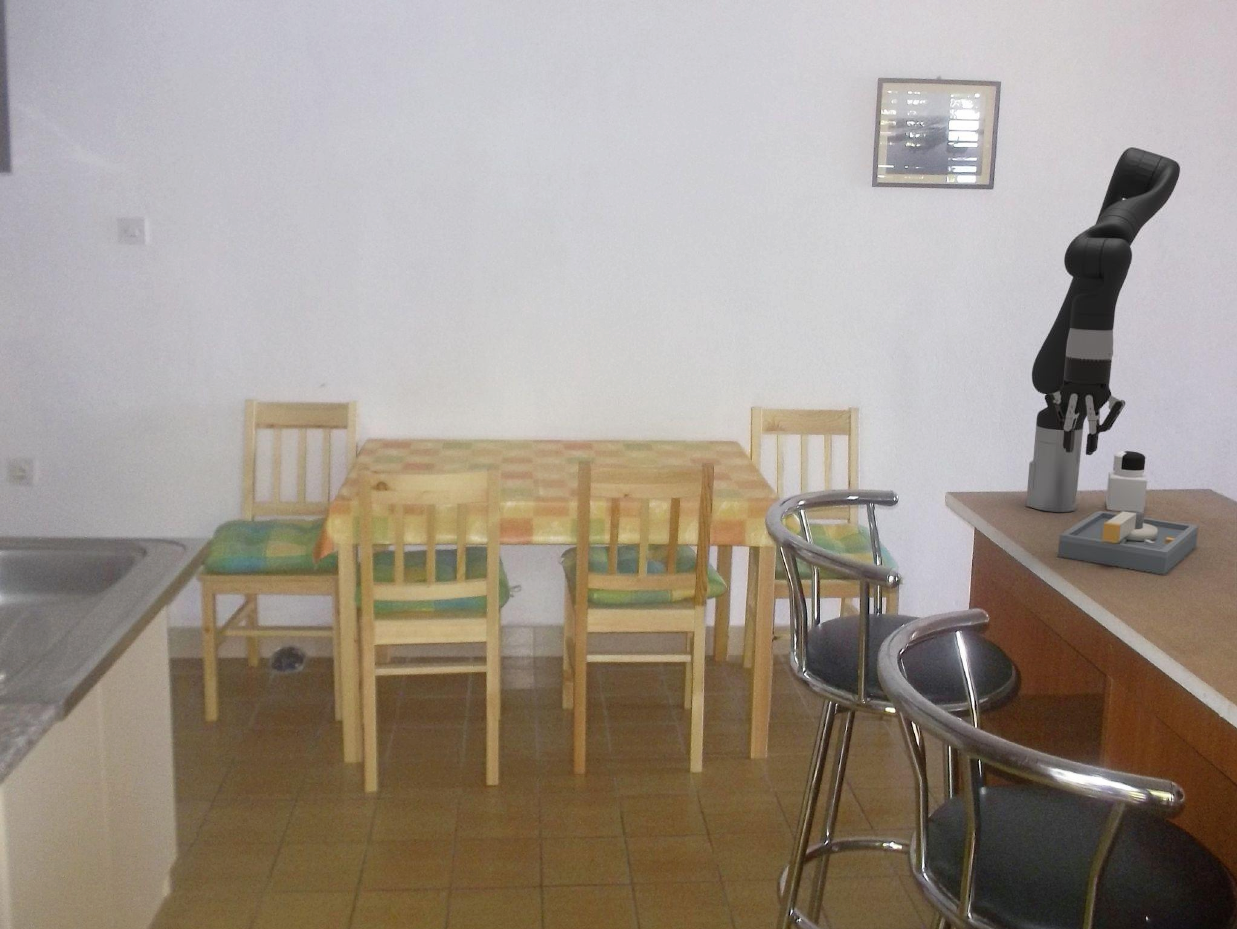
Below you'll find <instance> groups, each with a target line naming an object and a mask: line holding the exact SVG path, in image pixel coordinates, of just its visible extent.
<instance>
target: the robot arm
mask: <svg viewBox="0 0 1237 929" xmlns="http://www.w3.org/2000/svg"><path fill="white" fill-rule="evenodd" d="M1115 164H1116V165H1115V168H1114V170H1113V173H1112V175H1111V177H1110V181H1109V183H1108V187H1107V190H1106V192H1105V196H1104V197H1103V201H1102V205H1101V206H1100V207H1101V208H1100V211H1099V214H1098V216H1097V219H1096V222H1095V224H1094V225H1092V226H1090V227H1089V228H1087V229H1085V230H1084V231H1082V232H1081V233H1080V234H1078V235H1077V236H1075V238H1074V239H1073V240H1071V242H1070V243H1069V245H1068V247H1067V249H1066V251H1065V252H1064V253H1065V254H1064V259H1063V262H1064V268H1065V270H1066V272H1067V273H1068V275H1070V276H1071V277H1072V280H1071V282H1070V285H1069V286H1068V289H1067V293H1066V295H1065V297H1064V300H1063V302H1062V305H1061V306H1060V309H1059V311H1058V314H1057V316H1056V319H1055V320H1054V323H1053V324H1052V326H1051V328H1050V329H1049V332H1048V334H1047V336H1046V338H1045V340H1044V341H1043V343H1042V345H1041V347H1040V349H1039V351H1038V352H1037V355H1036V357H1035V359H1034V362H1033V365H1032V370H1031V381H1032V385H1033V387H1034V389H1035V390H1036V391H1037V392H1038V393H1040V394H1042V395H1045V396H1044V400H1045V403H1046V406H1047V407H1045V408H1043V409H1041V410H1039V411H1038V413H1037V416H1036V423H1035V425H1036V426H1035V433H1034V434H1035V435H1034V445H1033V456H1032V457H1033V459H1032V460H1030V462H1029V468H1028V475H1027V476H1028V477H1027V486H1026V487H1027V490H1026V498H1025V499H1026V500H1025V506H1026V507H1030V508H1033V509H1036V510H1039V511H1045V512H1050V513H1051V512H1052V513H1053V512H1054V513H1068V512H1069V513H1070V512H1074V511H1075V510H1076V505H1077V500H1078V499H1077V496H1078V495H1077V494H1078V487H1079V475H1080V465H1081V464H1080V463H1081V454H1082V445H1083V444H1082V443H1083V432H1084V424H1085V420H1086V418H1087V423H1088V433H1087V437H1086V444H1085V446H1086V447H1085V455H1086V456H1092V455H1093V453H1095V452H1096V451H1097V450H1098V442H1099V435H1100V433H1105V432H1107V431H1110V430H1111V429H1112V428H1113V425H1114V424H1115V423H1116V420H1117V419H1118V418H1119V416H1120V414H1121V413H1122V410H1123V409H1124V408H1125V406H1126V401H1125V400H1123V399H1118V398H1117V397H1116V396H1113V395H1112V392H1111V389H1110V381H1111V373H1112V372H1111V371H1112V370H1111V369H1112V361H1113V357H1114V356H1113V355H1114V326H1115V325H1114V324H1115V316H1116V308H1117V302H1118V299H1119V295H1120V293H1121V290H1122V288H1123V285H1124V283H1125V280H1126V278H1127V276H1128V273H1129V270H1130V266H1131V264H1132V260H1133V251H1132V248H1131V245H1132V244H1133V242H1134V241H1135V239H1136V237H1137V236H1138V234H1139V232H1140V231H1141V230H1142V228H1143V227H1144V226H1145V225H1146V223H1148V222H1149V221H1150V220H1151V219H1152V218H1153V217H1154V216H1155V215H1156V214H1157V213H1158V212H1159V211H1160V210H1161V209H1162V208H1163V207H1164V206H1165V205H1166V204H1167V202H1168V200H1169V199H1170V197H1171V196H1172V194H1173V192H1174V191H1175V188H1176V186H1177V183H1178V180H1179V177H1180V174H1181V167H1180V164H1179V163H1178V162H1177V161H1175V160H1174V159H1172V158H1169V157H1168V156H1167V157H1166V156H1163V155H1161V154H1158V153H1154V152H1151V151H1147V150H1144V149H1142V148H1138V147H1128V148H1126V149H1124V151H1123V152H1122V154H1121V155H1120V156H1119V158H1118V160H1117V163H1115ZM1107 402H1108V406H1107V407H1108V410H1109V411H1108V414H1107V415H1106V417H1105V419H1104V420H1103V421H1102V423H1101V421H1100V420H1101V412H1100V410H1101V409H1102V408H1103V407H1104V406H1105V405H1106V403H1107Z"/></svg>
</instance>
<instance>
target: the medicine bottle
mask: <svg viewBox="0 0 1237 929" xmlns="http://www.w3.org/2000/svg"><path fill="white" fill-rule="evenodd" d="M1146 458H1147V457H1146V456H1145V455H1144V454H1143V453H1141V452H1138V451H1132V450H1120V451H1117V452H1115V453H1114V454H1113V465H1112V466H1113V467H1112V470H1110V471H1108V478H1107V488H1106V498H1105V504H1106V509H1107V511H1114V512H1115V511H1117V512H1121V511H1137V512H1141V513H1143V514H1144V512H1145V506H1146V495H1147V486H1148V480H1147V479H1148V478H1147V477H1146V474H1145V465H1146Z"/></svg>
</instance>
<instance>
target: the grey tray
mask: <svg viewBox="0 0 1237 929" xmlns="http://www.w3.org/2000/svg"><path fill="white" fill-rule="evenodd" d="M1118 514H1119V513H1116V512H1115V513H1114V512H1108V511H1102V510H1098V511H1096V512H1094V513H1092V514H1090V515H1089V516H1088V517H1086V518H1085V519H1082V520H1081V521H1079V522H1078V523H1076V524H1074V525H1073V526H1072V527H1070V528H1068V529H1067V530H1065V531H1064V532H1062V533H1060V534H1059V538H1058V539H1059V540H1058V550H1057V551H1058V552H1057V557H1060V558H1066V559H1072V560H1077V561H1082V560H1083V561H1082V562H1089V563H1094V564H1099V563H1100V564H1099V565H1104V566H1105V565H1106V566H1110V567H1116V566H1118V567H1117V568H1123V569H1127V568H1129V569H1128V570H1133V569H1134V570H1135V571H1138V572H1139V571H1140V572H1144V571H1145V573H1146V572H1147V573H1150V572H1151V574H1156V575H1161V576H1165V575H1166V574H1167V573H1168V572H1170V570H1171V569H1173V568H1174V567H1175V566H1176V565H1177V564H1178V563H1180V561H1181V560H1183V559H1184V558H1185V557H1186V556H1187V555H1188V554H1189V553H1191V552H1192V551H1193V550H1194V549H1195V548H1196V547H1197V540H1198V531H1199V525H1195V524H1188V523H1182V522H1176V521H1167V520H1163V519H1162V520H1161V519H1157V518H1156V519H1155V518H1149V517H1148V518H1147V517H1144V520H1143V523H1146V524H1149V525H1152V526H1155V527H1156V528H1157V529H1158V530H1157V538H1156V539H1154V540H1144V541H1133V540H1126V538H1123V539H1121V540H1120V541H1119V542H1118V543H1113V542H1107V541H1102V535H1103V525H1104V523H1105V522H1107V521H1109V520H1110V519H1112V518H1113V517H1115V516H1116V515H1118Z"/></svg>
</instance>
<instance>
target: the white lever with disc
mask: <svg viewBox="0 0 1237 929" xmlns="http://www.w3.org/2000/svg"><path fill="white" fill-rule="evenodd" d="M1119 512H1120V513H1117V514H1118V515H1116V516H1115V517H1113V518H1112V519H1110V520H1109V521H1107V522H1105V523H1104V525H1103V535H1102V541H1107V542H1113V543H1118V542H1119V541H1120V540H1121V539H1123V538H1126V540H1133V541H1144V540H1154V539H1156V538H1157V530H1158V529H1157V528H1156V527H1155V526H1152V525H1149V524H1146V523H1143V520H1144V518H1145V513H1144V512H1143V513H1141V512H1137V511H1119Z"/></svg>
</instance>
